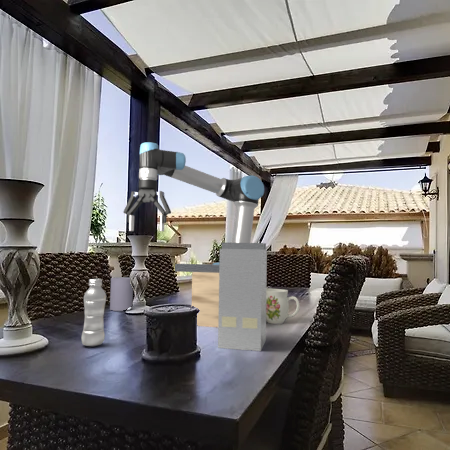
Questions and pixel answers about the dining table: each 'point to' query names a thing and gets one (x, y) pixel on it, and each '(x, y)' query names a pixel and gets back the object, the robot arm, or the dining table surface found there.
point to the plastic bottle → (94, 314)
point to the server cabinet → (242, 296)
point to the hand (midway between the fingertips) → (146, 231)
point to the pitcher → (278, 305)
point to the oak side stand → (206, 297)
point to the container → (120, 294)
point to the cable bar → (197, 268)
